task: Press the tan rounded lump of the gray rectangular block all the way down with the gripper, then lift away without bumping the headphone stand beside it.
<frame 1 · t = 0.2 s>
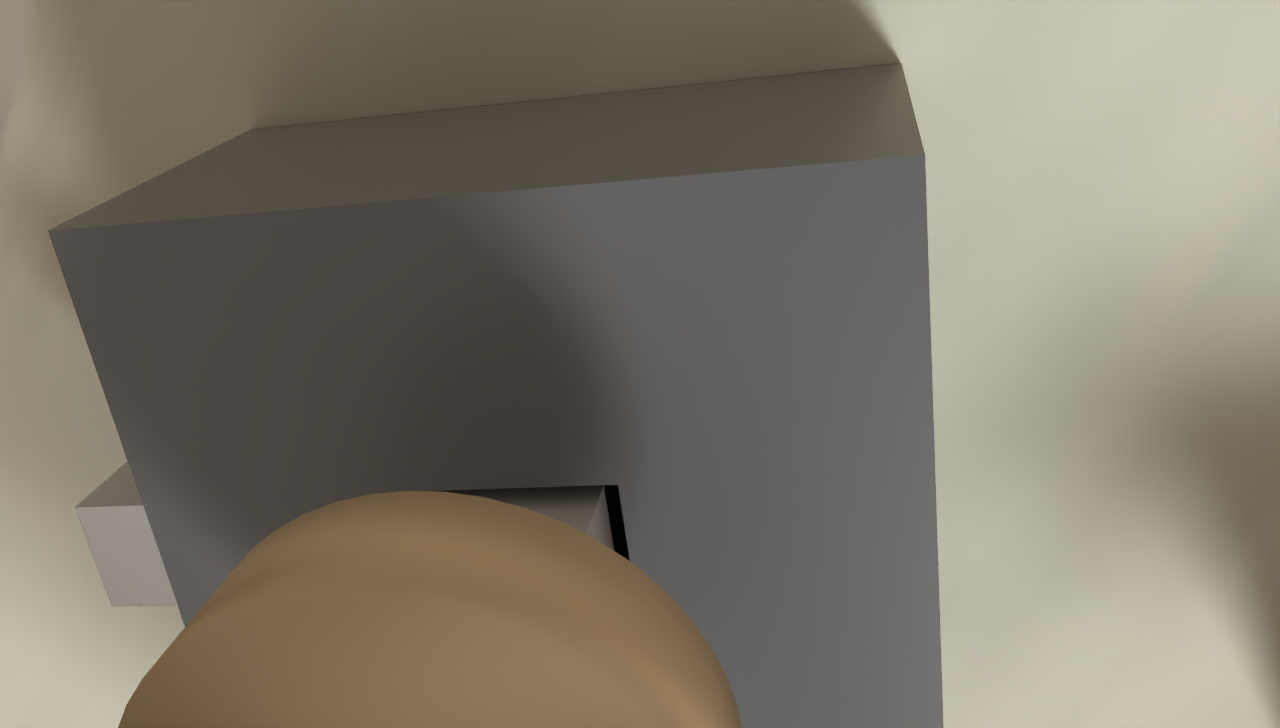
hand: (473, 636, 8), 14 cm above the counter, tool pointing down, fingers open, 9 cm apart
gray rectangular block: (604, 399, 23), on the counter
tan rounded lump: (486, 680, 15), point 8 cm above the counter, slide at 0.0 cm
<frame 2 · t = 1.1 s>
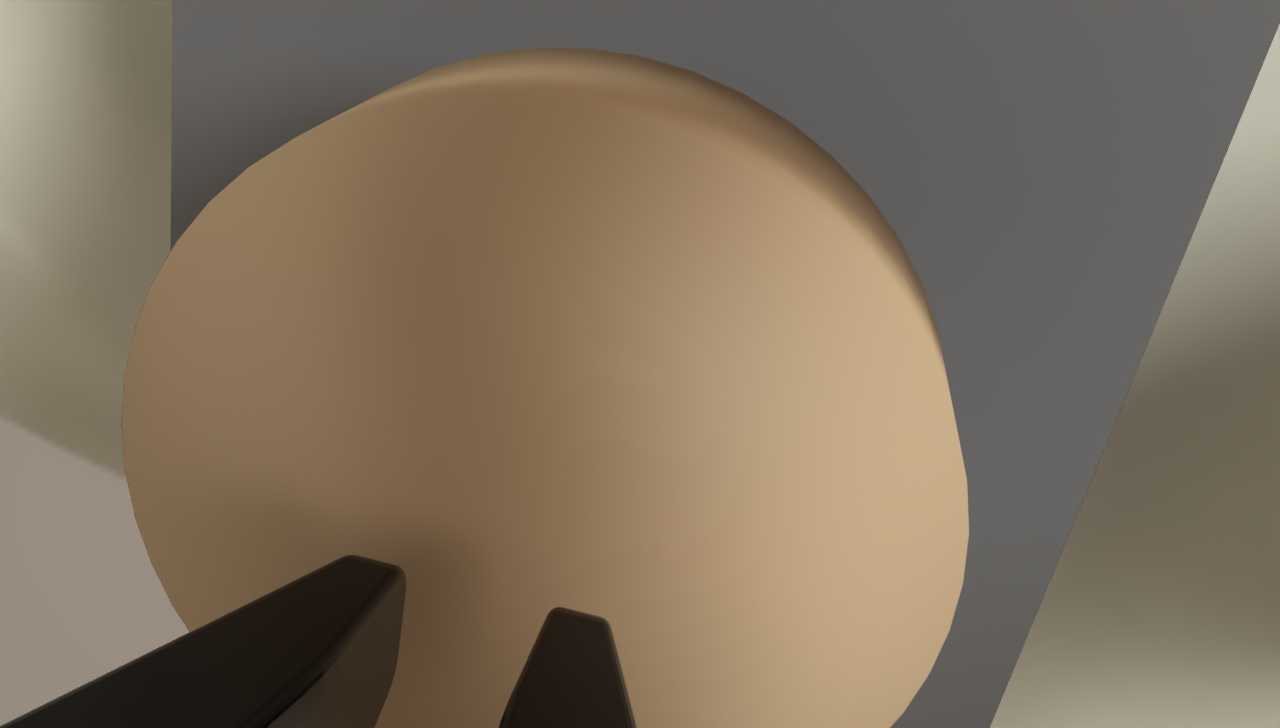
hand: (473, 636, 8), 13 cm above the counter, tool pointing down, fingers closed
gray rectangular block: (691, 171, 20), on the counter
tan rounded lump: (595, 374, 12), point 8 cm above the counter, slide at 0.0 cm
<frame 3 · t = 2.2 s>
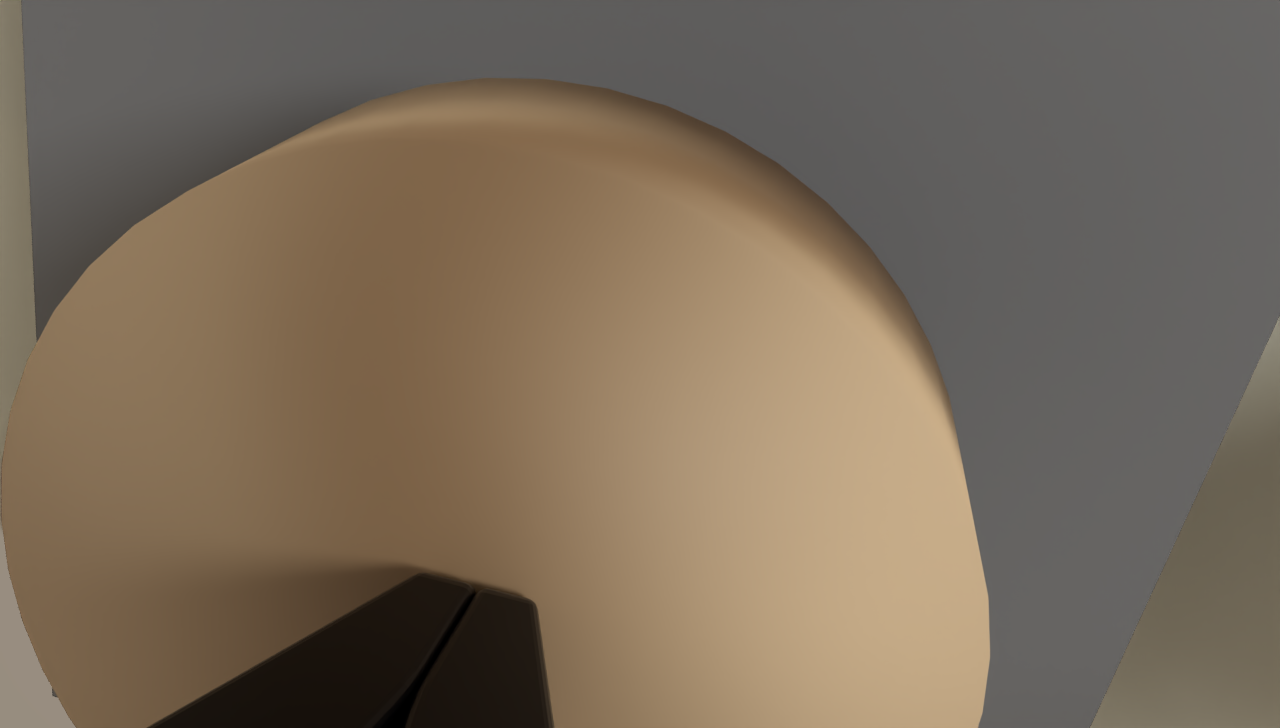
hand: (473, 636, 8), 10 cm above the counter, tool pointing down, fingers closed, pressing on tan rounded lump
gray rectangular block: (668, 217, 17), on the counter
tan rounded lump: (563, 439, 11), point 7 cm above the counter, slide at 1.3 cm, touching gripper
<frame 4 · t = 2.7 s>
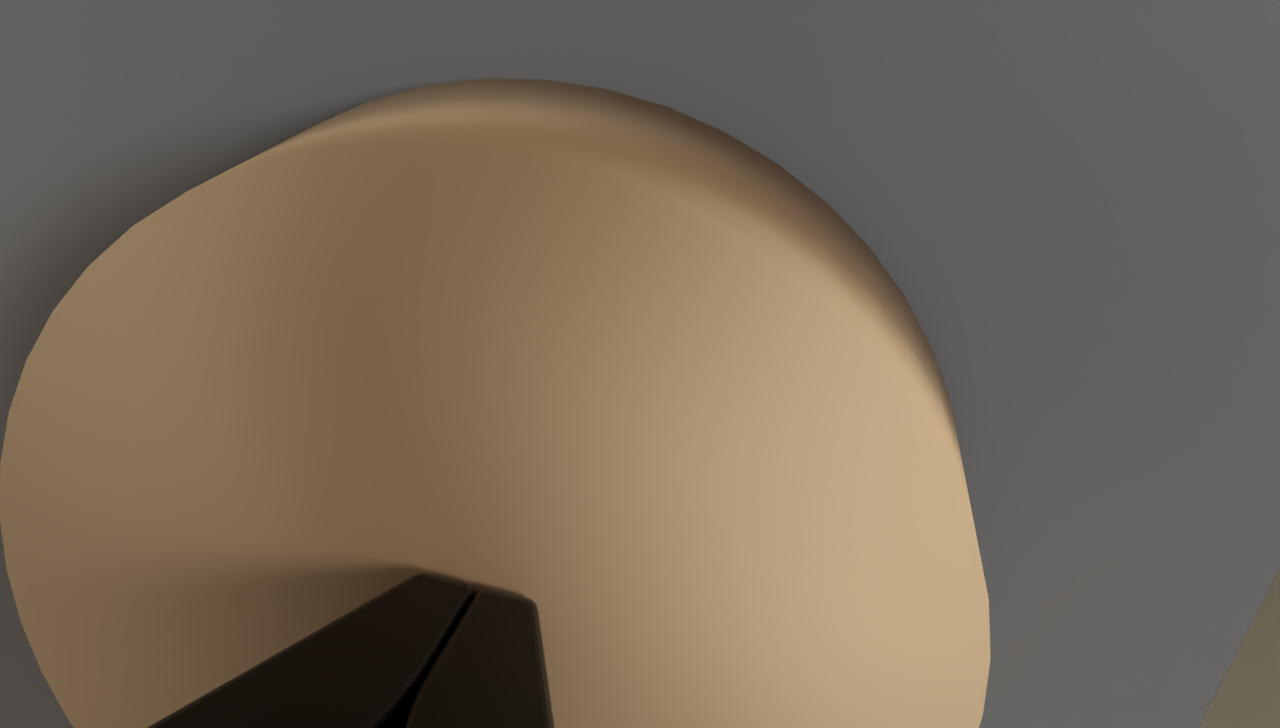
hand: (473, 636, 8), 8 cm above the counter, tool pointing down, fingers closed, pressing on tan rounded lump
gray rectangular block: (651, 256, 16), on the counter
tan rounded lump: (563, 440, 11), point 5 cm above the counter, slide at 3.1 cm, touching gripper
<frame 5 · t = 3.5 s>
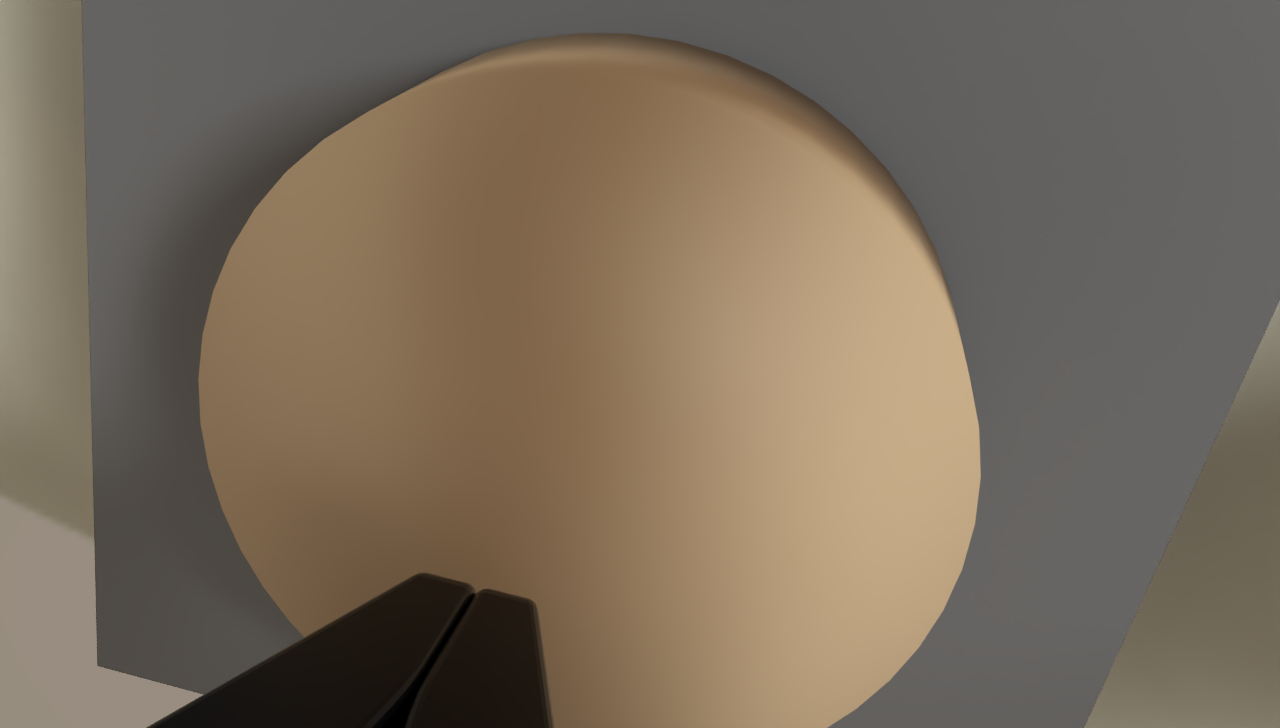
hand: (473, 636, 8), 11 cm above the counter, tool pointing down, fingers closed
gray rectangular block: (689, 207, 18), on the counter
tan rounded lump: (629, 342, 13), point 5 cm above the counter, slide at 3.1 cm
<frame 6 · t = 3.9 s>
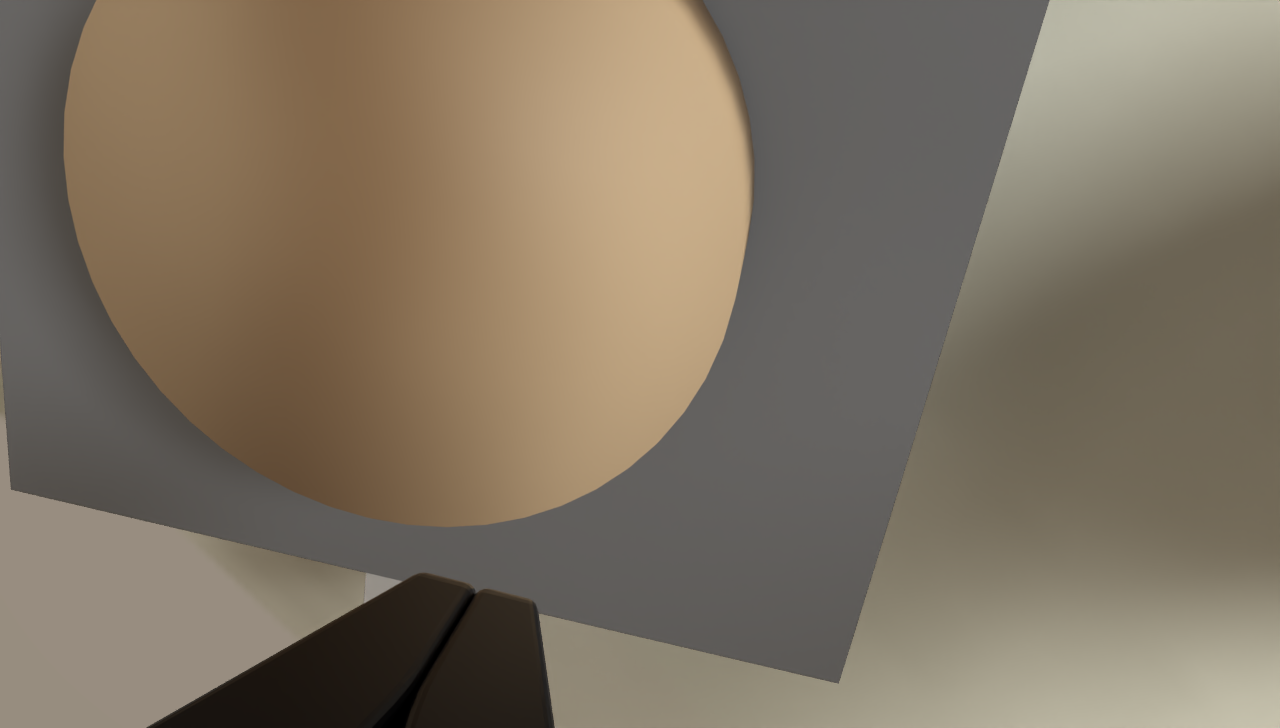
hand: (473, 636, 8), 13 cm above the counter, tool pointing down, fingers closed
gray rectangular block: (566, 77, 19), on the counter
tan rounded lump: (475, 155, 14), point 5 cm above the counter, slide at 3.1 cm
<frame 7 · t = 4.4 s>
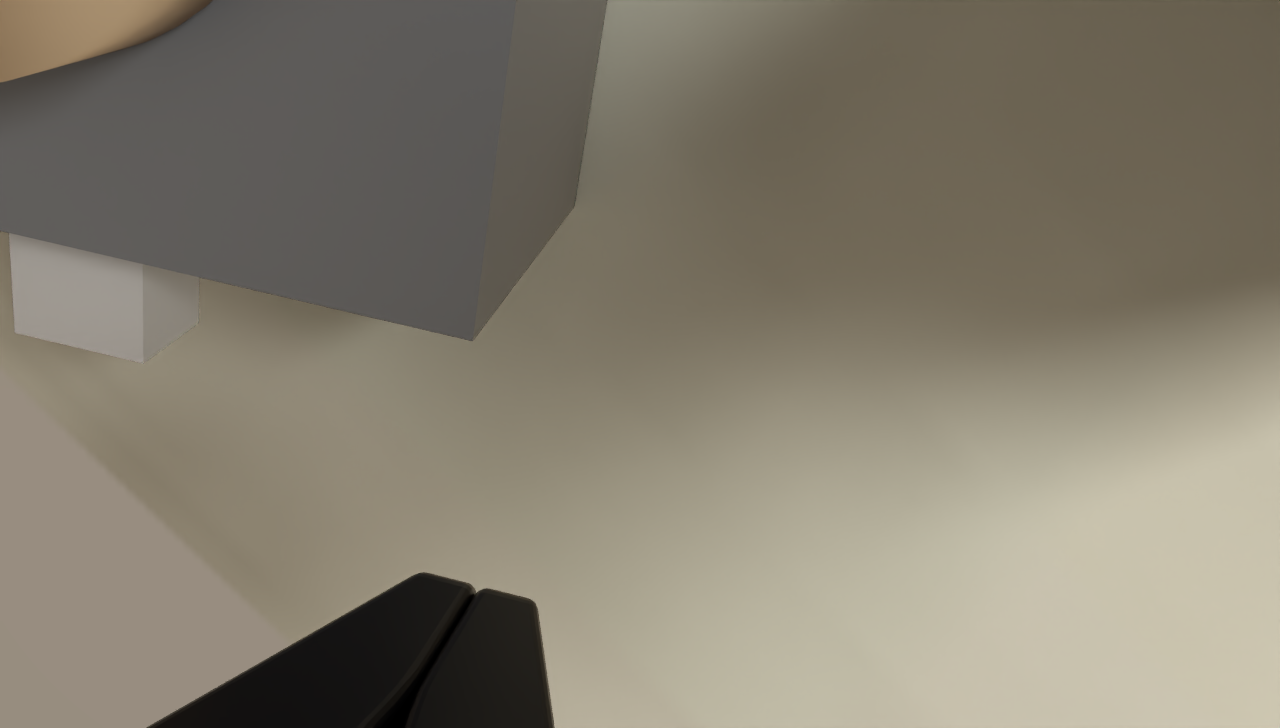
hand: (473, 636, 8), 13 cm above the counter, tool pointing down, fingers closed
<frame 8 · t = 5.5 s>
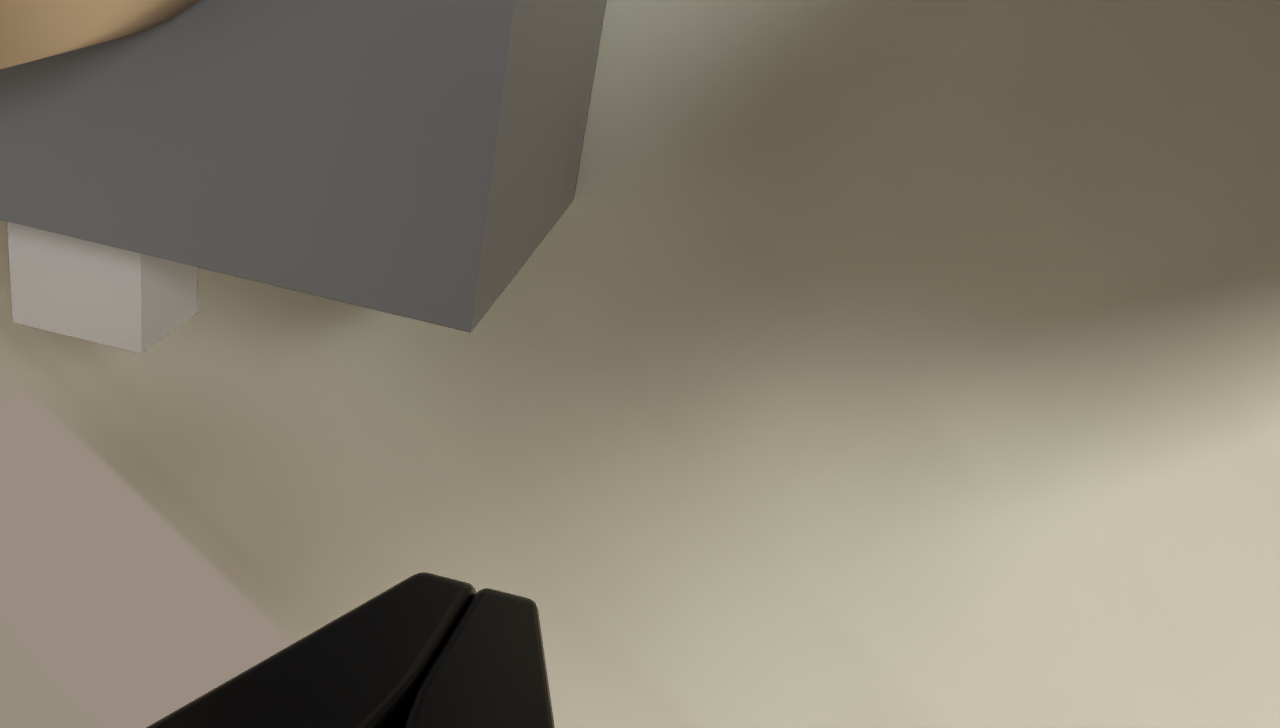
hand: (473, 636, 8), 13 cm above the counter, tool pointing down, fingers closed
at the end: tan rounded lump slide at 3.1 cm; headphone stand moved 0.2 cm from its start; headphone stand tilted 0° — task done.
